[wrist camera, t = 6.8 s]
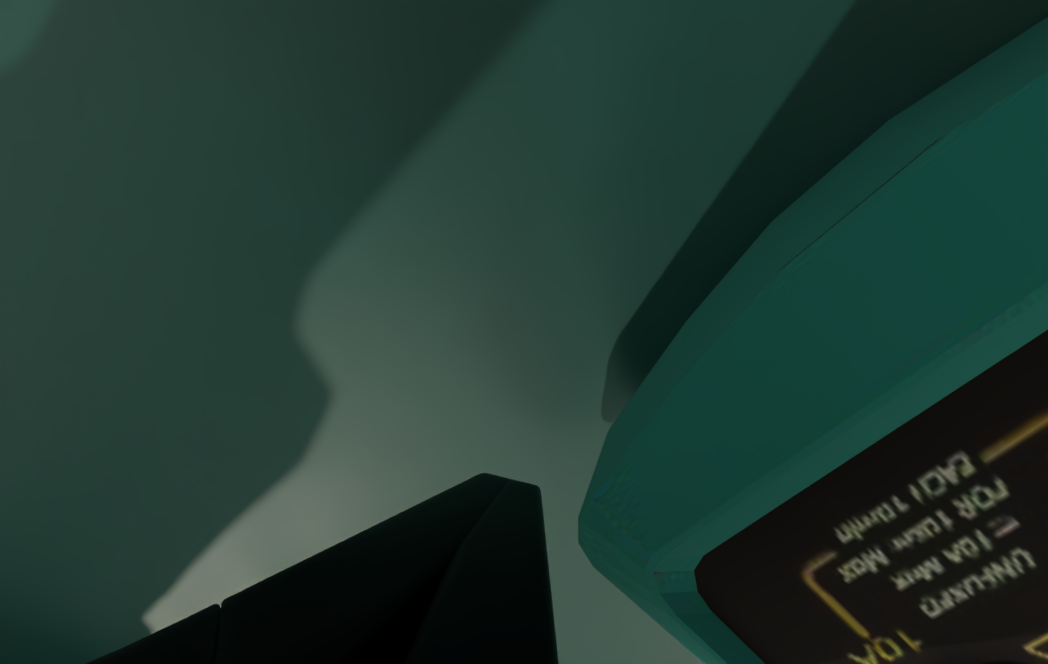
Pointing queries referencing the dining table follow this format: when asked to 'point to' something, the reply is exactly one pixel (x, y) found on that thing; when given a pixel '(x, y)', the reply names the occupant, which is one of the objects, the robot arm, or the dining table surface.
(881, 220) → the digital multimeter
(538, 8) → the dustpan
